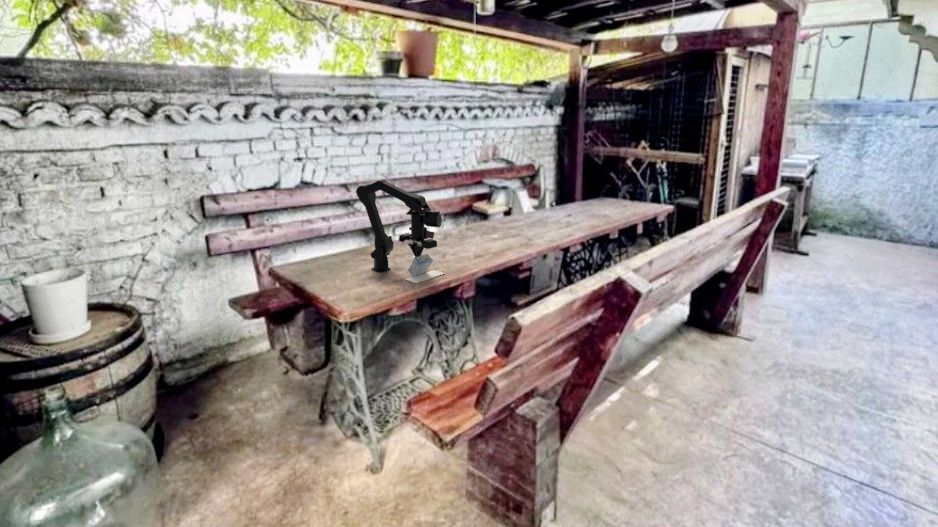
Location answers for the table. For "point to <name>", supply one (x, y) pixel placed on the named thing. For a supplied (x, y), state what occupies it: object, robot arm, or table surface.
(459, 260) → the table surface
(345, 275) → the table surface
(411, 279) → the white rectangular board
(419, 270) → the medicine box
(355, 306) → the table surface
